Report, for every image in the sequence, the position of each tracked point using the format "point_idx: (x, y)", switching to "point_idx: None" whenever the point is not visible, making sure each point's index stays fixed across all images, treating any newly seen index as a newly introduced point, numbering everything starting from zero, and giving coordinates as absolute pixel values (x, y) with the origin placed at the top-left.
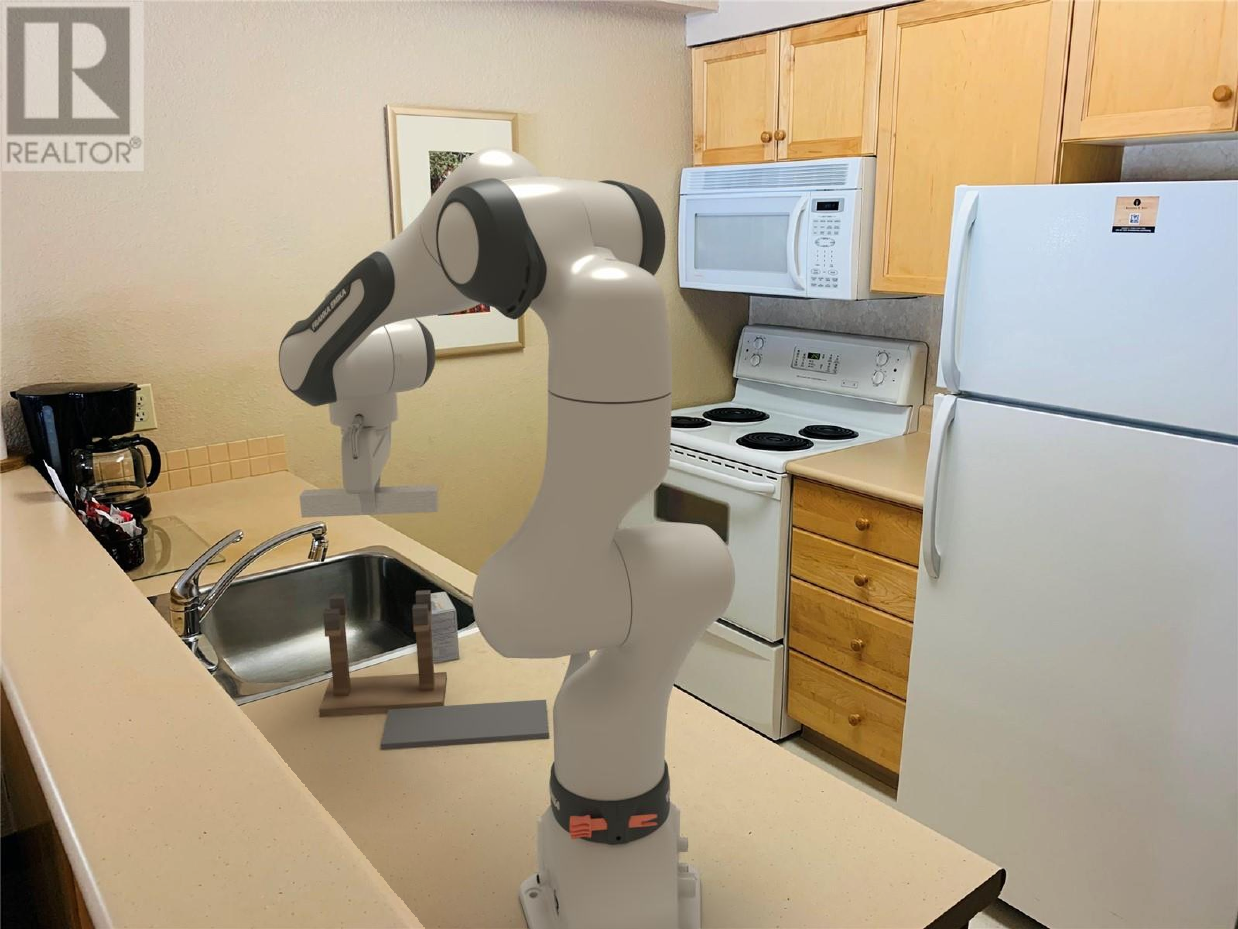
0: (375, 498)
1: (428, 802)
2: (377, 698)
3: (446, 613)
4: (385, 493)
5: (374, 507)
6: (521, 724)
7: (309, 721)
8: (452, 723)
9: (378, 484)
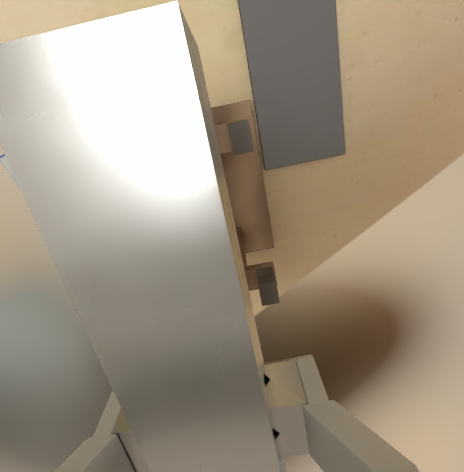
0: (273, 405)
1: (457, 59)
2: (245, 190)
3: None
4: (262, 385)
5: (316, 370)
6: None
7: (281, 250)
8: (299, 71)
9: (94, 464)
